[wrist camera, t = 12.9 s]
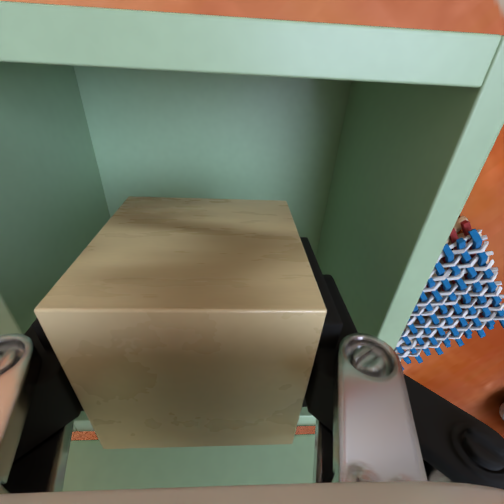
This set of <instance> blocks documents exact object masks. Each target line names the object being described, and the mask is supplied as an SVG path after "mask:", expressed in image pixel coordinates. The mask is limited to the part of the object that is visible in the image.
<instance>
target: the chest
mask: <svg viewBox="0 0 504 504" xmlns="http://www.w3.org/2000/svg"><path fill="white" fill-rule="evenodd" d="M503 124H504V35H502V36H501V35H498V34H483V33H469V32H454V31H439V30H424V29H409V28H395V27H380V26H365V25H350V24H335V23H320V22H306V21H291V20H276V19H261V18H246V17H232V16H217V15H202V14H187V13H172V12H157V11H143V10H128V9H113V8H98V7H83V6H69V5H54V4H39V3H24V2H9V1H0V336H1V335H5V334H15V333H17V334H23V335H24V334H25V333H26V332H27V330H28V329H29V328H30V327H31V325H32V323H33V322H34V321H35V320H36V318H37V317H36V315H35V313H34V309H35V307H36V306H37V305H38V304H39V303H40V302H41V300H42V299H43V298H44V297H45V296H46V294H47V293H48V292H49V291H50V290H51V288H52V287H53V286H54V285H55V284H56V282H57V281H58V280H59V279H60V278H61V276H62V275H63V274H64V273H65V272H66V271H67V269H68V268H69V267H70V266H71V265H72V263H73V262H74V261H75V260H76V259H77V257H78V256H79V255H80V254H81V253H82V251H83V250H84V249H85V248H86V247H87V245H88V244H89V243H90V242H91V241H92V239H93V238H94V237H95V236H96V235H97V234H98V232H99V231H100V230H101V229H102V228H103V226H104V225H105V224H106V223H107V222H108V220H109V219H110V218H111V217H112V216H113V214H114V213H115V212H116V211H117V210H118V208H119V207H120V206H121V205H122V204H123V203H124V201H125V200H126V199H127V198H128V197H129V196H133V197H170V198H207V199H244V200H281V201H287V204H288V207H289V209H290V212H291V215H292V217H293V220H294V223H295V225H296V228H297V231H298V234H299V236H300V237H307V238H308V240H309V242H310V245H311V247H312V250H313V252H314V255H315V257H316V259H317V262H318V264H319V267H320V269H321V272H322V274H330V275H331V276H332V277H333V279H334V281H335V283H336V285H337V287H338V290H339V292H340V294H341V296H342V298H343V301H344V303H345V305H346V307H347V310H348V312H349V314H350V316H351V318H352V321H353V323H354V325H355V327H356V329H357V332H358V333H366V334H369V335H373V336H376V337H377V338H379V339H381V340H383V341H385V342H386V343H387V344H388V345H389V346H391V347H392V348H393V350H394V349H395V347H396V345H397V343H398V341H399V339H400V337H401V335H402V333H403V331H404V329H405V327H406V325H407V323H408V321H409V318H410V316H411V314H412V312H413V310H414V308H415V306H416V304H417V302H418V300H419V298H420V296H421V294H422V292H423V289H424V287H425V285H426V283H427V281H428V279H429V277H430V275H431V273H432V271H433V269H434V267H435V265H436V263H437V260H438V258H439V256H440V254H441V252H442V250H443V248H444V246H445V244H446V242H447V240H448V238H449V236H450V234H451V232H452V229H453V227H454V225H455V223H456V221H457V219H458V217H459V215H460V213H461V211H462V209H463V207H464V205H465V203H466V200H467V198H468V196H469V194H470V192H471V190H472V188H473V186H474V184H475V182H476V180H477V178H478V176H479V174H480V171H481V169H482V167H483V165H484V163H485V161H486V159H487V157H488V155H489V153H490V151H491V149H492V147H493V145H494V143H495V140H496V138H497V136H498V134H499V132H500V130H501V128H502V126H503ZM297 426H316V418H315V417H314V416H313V415H311V414H310V413H309V412H308V409H307V407H302V409H301V413H300V417H299V420H298V424H297ZM75 431H94V429H93V427H92V425H91V423H90V421H89V419H88V417H87V415H86V413H85V411H81V413H80V415H79V416H78V417H77V418H76V419H74V424H73V430H72V432H75Z"/></svg>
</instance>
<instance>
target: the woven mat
mask: <svg viewBox="0 0 504 504" xmlns="http://www.w3.org/2000/svg"><path fill="white" fill-rule="evenodd" d="M461 229H462V230H463V233H460V234H457V232H458V231H460V230H461ZM481 232H482V230H480V229H479V230H476V229H471V226H470V222H469V221H468V219H467V218H466V217H465V216H461V217H460V218H458V219H457V221H456V223H455V225H454V227H453V229H452V232H451V234H450V236H449V238H448V240H447V242H446V244H445V246H444V248H443V250H442V252H441V254H440V256H439V258H438V260H437V263H436V265H435V267H434V269H433V271H432V273H431V275H430V277H429V279H428V281H427V283H426V285H425V287H424V289H423V292H422V294H421V296H420V298H419V300H418V302H417V304H416V306H415V308H414V310H413V312H412V314H411V316H410V318H409V321H408V323H407V325H406V327H405V329H406V330H405V331H403V333H402V335H401V337H400V339H399V341H398V343H397V345H396V347H395V349H394V351H395V352H396V353H398V352H399V353H400V354H397V355H398V357H399V359H400V361H401V359H402V358H403V359H404V361H405V362H406V363H407V364H409V363H411V360H410V359H409V358H408V356H414V357H415V358H416V360H417V361H418V363H421V362H423V360H422V359H421V357H420V356H419V353H420V352H421V350H423V351H424V352H425V354H426V355H427V356H428V355H431V353H430V351H429V349H428V348H434V349H435V350H436V352H437V353H438V355H441V354H443V352H442V350H441V348H440V347H439V345H440V344H441V342H443V343H444V344H445V346H446V347H447V348H448V347H450V346H451V345H450V340H449V339H455V341H456V342H457V344H458V345H459V347H460V346H462V345H464V343H463V341H462V340H461V338H460V337H461V336H462V335H465V337H466V338H468V339H469V338H472V336H471V334H472V332H471V330H475V331H477V333H478V335H479V336H480V337H481V338H482V337H484V336H486V335H485V333H484V331H483V329H482V328H483V326H484V325H485V326H487V328H488V329H489V330H491V329H493V328H494V327H493V325H494V324H495V322H494V321H493V320H499V322H500V323H501V325H502V327H503V328H504V303H503V304H501V303H500V302H501V301H502V300H501V298H504V295H501V294H499V293H500V292H501V290H502V287H501V286H499V288H498V286H496V285H502V283H501V281H496V282H494V280H495V278H496V276H497V274H498V272H496V271H498V267H495V268H491V267H492V265H493V263H494V260H493V259H492V260H491V261H490V262H489V263H488V261H489V257H490V256H488V255H494V254H493V251H487V252H484V251H485V249H486V247H487V245H488V243H489V242H488V241H485V242H484V243H483V245H482V240H486V239H488V238H487V235H483V236H482V235H481ZM466 242H467V243H466ZM481 245H482V246H481ZM453 248H454V250H451V249H453ZM469 254H470V255H469ZM492 272H494V273H492ZM476 275H477V276H476ZM475 276H476V277H475ZM452 286H453V287H452ZM451 287H452V288H451ZM424 292H428V293H424ZM471 299H472V300H471ZM424 311H426V312H424ZM478 317H481V318H478ZM467 322H469V324H468V323H467ZM481 322H482V323H481ZM467 324H468V325H467ZM458 326H459V327H458ZM430 328H434V329H432V330H430ZM448 330H449V331H448ZM446 331H448V332H447V334H446V335H445V332H446ZM458 331H459V332H458ZM423 332H424V334H423ZM450 334H451V336H449V335H450ZM416 344H419V345H416ZM405 349H407V350H406V351H404V350H405ZM416 349H418V350H417V351H416ZM410 351H411V352H412V353H409V352H410ZM402 370H404V368H403V367H402Z"/></svg>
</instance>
